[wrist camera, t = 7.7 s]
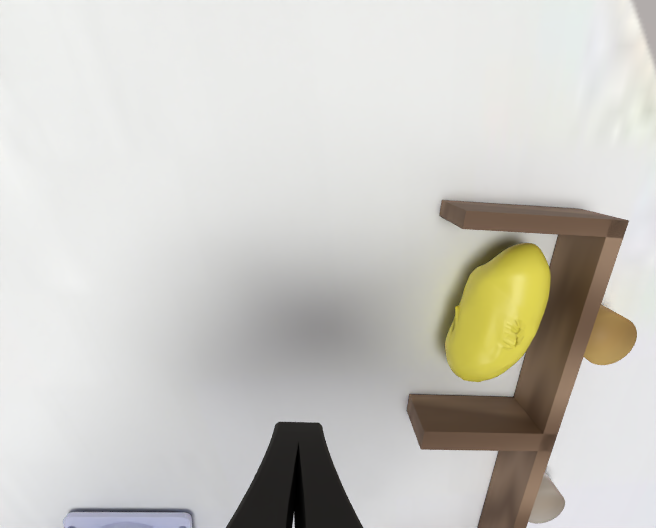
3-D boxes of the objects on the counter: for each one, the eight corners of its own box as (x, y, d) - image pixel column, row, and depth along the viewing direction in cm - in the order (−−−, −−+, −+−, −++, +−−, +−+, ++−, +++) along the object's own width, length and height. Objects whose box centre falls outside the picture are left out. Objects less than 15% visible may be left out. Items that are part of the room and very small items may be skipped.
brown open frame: (522, 544, 27) (548, 591, 24) (384, 544, 26) (393, 593, 23) (634, 212, 19) (692, 224, 16) (441, 200, 18) (466, 210, 15)
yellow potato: (415, 347, 21) (438, 390, 17) (484, 222, 19) (526, 241, 15) (477, 369, 22) (511, 415, 18) (550, 250, 20) (605, 275, 16)
